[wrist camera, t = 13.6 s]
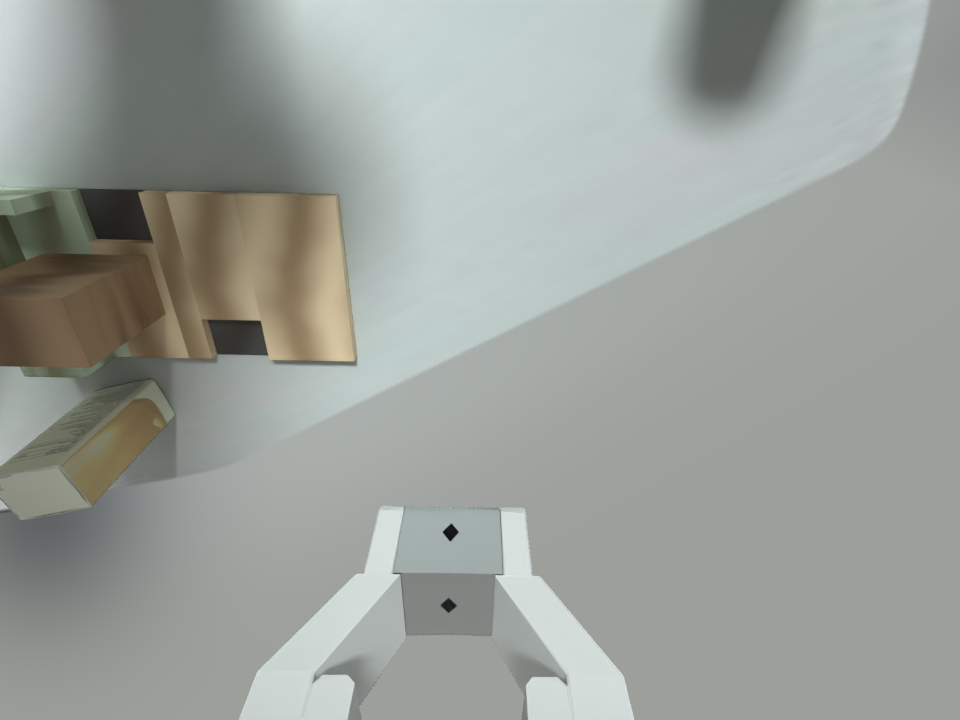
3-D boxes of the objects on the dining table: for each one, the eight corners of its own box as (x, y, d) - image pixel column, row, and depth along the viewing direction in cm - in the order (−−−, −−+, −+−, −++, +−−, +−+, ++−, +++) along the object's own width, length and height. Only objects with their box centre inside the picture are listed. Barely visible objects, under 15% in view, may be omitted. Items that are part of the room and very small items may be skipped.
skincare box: (120, 425, 48) (16, 523, 37) (94, 389, 45) (-24, 481, 35) (180, 414, 47) (92, 510, 36) (156, 376, 45) (55, 467, 34)
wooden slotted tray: (338, 194, 37) (321, 207, 33) (357, 356, 44) (344, 382, 40) (-8, 186, 37) (-67, 198, 33) (66, 350, 43) (24, 376, 39)
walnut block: (147, 255, 38) (60, 298, 30) (165, 313, 41) (90, 367, 33) (44, 253, 38) (-69, 296, 30) (69, 311, 40) (-30, 365, 33)
